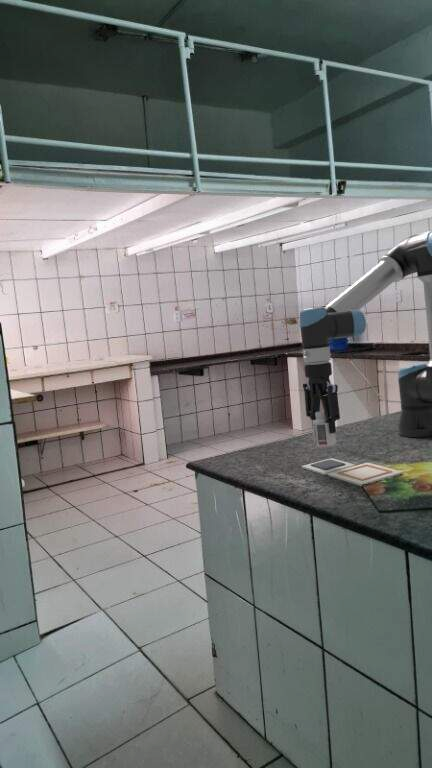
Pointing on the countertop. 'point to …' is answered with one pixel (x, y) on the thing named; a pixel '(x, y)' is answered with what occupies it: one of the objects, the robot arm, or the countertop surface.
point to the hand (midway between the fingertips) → (325, 442)
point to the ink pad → (327, 466)
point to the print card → (364, 473)
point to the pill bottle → (320, 429)
